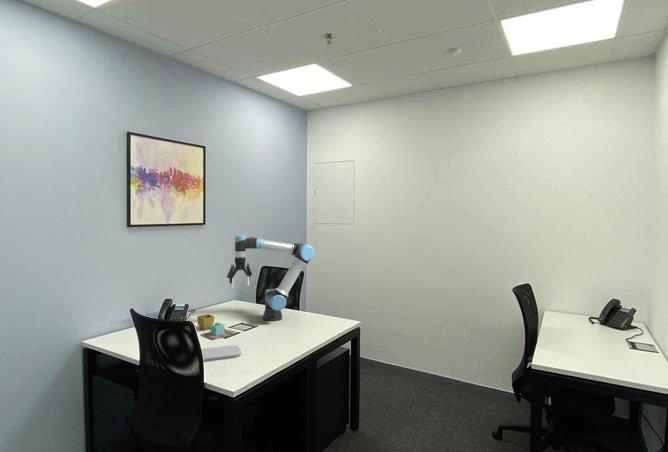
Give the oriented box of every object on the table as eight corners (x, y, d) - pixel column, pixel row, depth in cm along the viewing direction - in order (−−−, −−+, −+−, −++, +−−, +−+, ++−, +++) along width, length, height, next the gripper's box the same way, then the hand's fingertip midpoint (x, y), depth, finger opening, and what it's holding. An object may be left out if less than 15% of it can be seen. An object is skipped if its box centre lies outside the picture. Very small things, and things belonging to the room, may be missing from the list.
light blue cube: (218, 331, 259) (218, 322, 258) (224, 333, 254) (224, 324, 254) (210, 333, 254) (210, 324, 253) (216, 335, 250) (216, 326, 249)
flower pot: (214, 329, 267) (214, 316, 266) (203, 331, 260) (203, 318, 260) (208, 326, 273) (208, 314, 272) (196, 329, 266) (196, 316, 266)
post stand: (221, 330, 265) (221, 319, 264) (233, 334, 256) (234, 322, 256) (200, 335, 252) (200, 323, 252) (212, 340, 243) (213, 328, 243)
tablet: (191, 353, 220) (191, 349, 220) (237, 348, 231) (237, 344, 231) (193, 364, 206) (194, 359, 206) (242, 357, 216) (242, 353, 216)
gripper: (250, 255, 286) (250, 283, 286) (222, 257, 266) (221, 288, 267) (257, 256, 281) (256, 285, 281) (228, 258, 261) (228, 289, 262)
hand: (239, 286), depth 274 cm, fingers open, 13 cm apart
